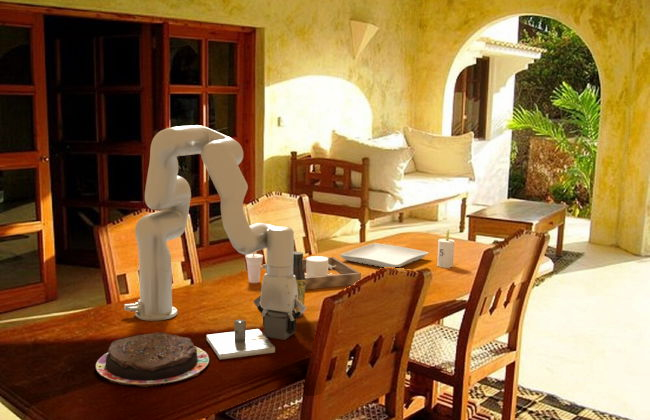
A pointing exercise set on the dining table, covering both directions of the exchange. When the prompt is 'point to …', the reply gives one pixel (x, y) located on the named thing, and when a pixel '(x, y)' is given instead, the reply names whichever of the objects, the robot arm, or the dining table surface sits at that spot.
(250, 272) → the smoothie
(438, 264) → the candle
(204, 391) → the dining table surface
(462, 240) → the dining table surface
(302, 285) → the sauce bottle
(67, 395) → the dining table surface
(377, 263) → the square plate
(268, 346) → the shaft base
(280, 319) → the knob
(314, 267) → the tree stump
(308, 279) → the frame
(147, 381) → the chocolate cake
